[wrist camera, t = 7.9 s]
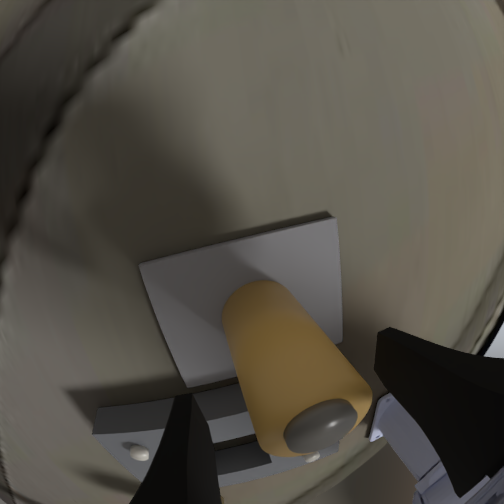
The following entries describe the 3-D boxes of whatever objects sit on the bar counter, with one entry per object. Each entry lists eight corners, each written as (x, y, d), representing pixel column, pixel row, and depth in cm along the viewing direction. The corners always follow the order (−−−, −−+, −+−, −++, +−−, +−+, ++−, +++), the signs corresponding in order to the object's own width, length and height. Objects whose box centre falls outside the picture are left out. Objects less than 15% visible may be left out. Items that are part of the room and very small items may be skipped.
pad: (332, 216, 14) (336, 217, 14) (339, 338, 17) (342, 341, 16) (139, 263, 13) (138, 266, 12) (187, 383, 15) (187, 388, 15)
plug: (293, 273, 14) (388, 368, 7) (296, 336, 15) (367, 439, 8) (215, 288, 13) (254, 415, 6) (228, 352, 15) (266, 475, 7)
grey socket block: (326, 354, 17) (348, 384, 14) (326, 431, 20) (340, 456, 17) (97, 407, 14) (90, 441, 12) (155, 472, 18) (156, 499, 15)
